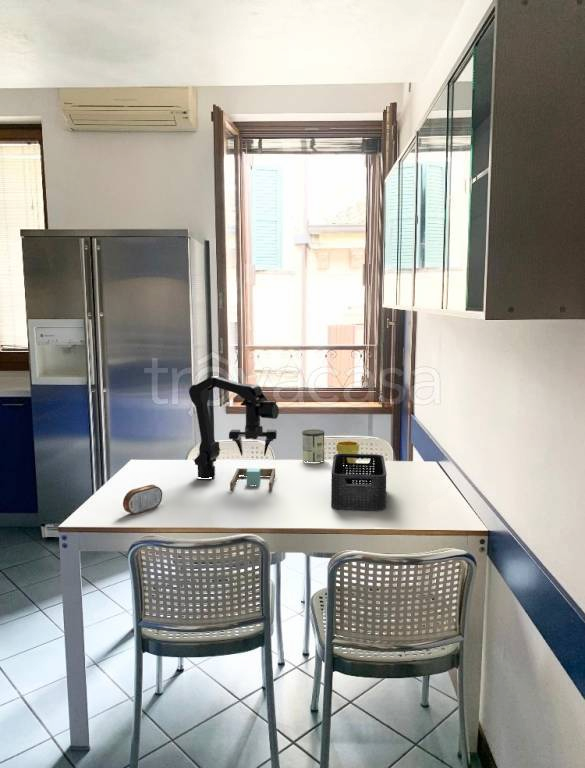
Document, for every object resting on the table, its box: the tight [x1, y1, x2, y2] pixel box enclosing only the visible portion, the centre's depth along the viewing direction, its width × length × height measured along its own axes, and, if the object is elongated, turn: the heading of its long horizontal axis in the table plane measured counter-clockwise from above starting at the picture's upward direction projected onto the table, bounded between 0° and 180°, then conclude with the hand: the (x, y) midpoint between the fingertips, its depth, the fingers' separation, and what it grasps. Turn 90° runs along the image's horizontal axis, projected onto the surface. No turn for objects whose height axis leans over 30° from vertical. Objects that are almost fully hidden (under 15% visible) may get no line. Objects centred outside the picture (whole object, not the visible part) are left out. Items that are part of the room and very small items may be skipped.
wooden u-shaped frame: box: [229, 467, 276, 493], centre depth 229 cm, size 16×21×4 cm
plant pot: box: [335, 440, 360, 463], centre depth 258 cm, size 10×10×10 cm
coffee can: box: [301, 428, 325, 462], centre depth 263 cm, size 10×10×14 cm
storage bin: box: [330, 453, 388, 512], centre depth 210 cm, size 29×19×13 cm
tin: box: [122, 484, 163, 515], centre depth 197 cm, size 15×3×8 cm, turn 141°
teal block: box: [246, 467, 261, 487], centre depth 228 cm, size 5×5×6 cm
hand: (253, 455), depth 227 cm, fingers open, 9 cm apart
